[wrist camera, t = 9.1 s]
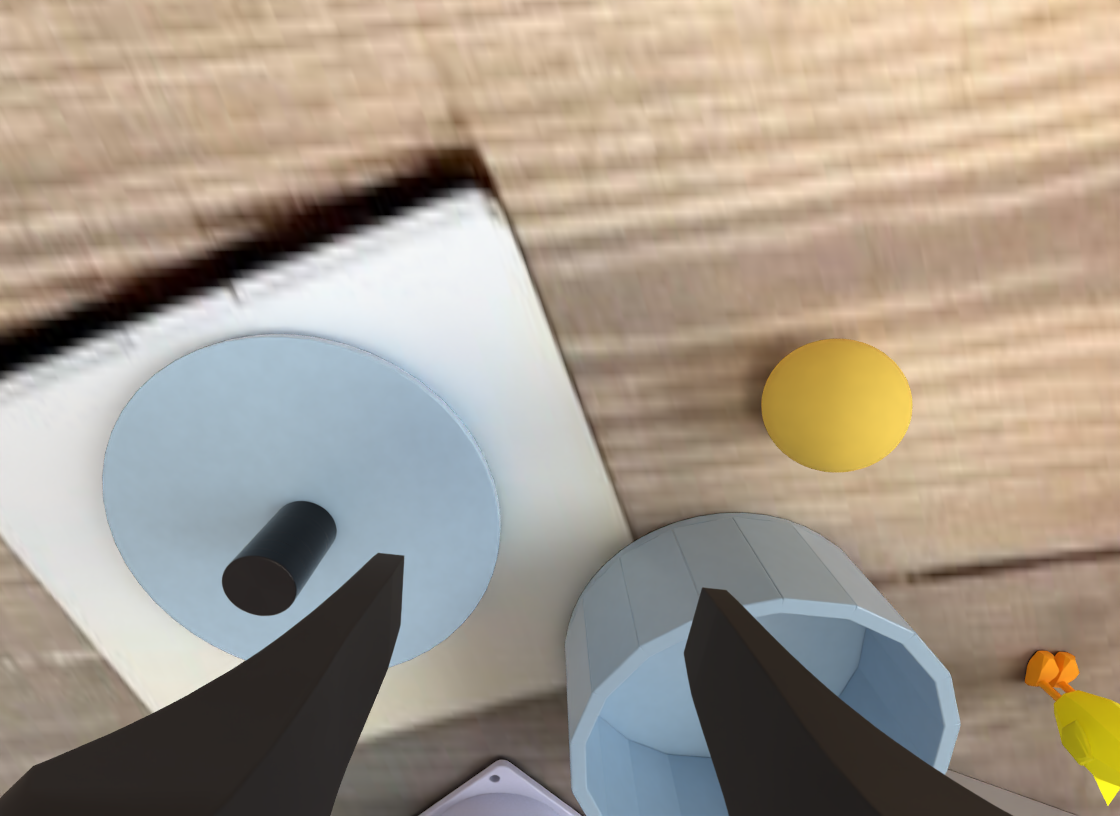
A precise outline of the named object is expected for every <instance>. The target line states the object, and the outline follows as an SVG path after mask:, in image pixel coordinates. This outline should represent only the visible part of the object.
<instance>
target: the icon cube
mask: <svg viewBox="0 0 1120 816" xmlns="http://www.w3.org/2000/svg"><path fill="white" fill-rule="evenodd" d="M945 775H946V776H947V777H949V778H951V779H952V780H954V781H955V782H957V783H959V784H960V785H962V786H964V787H965V788H967V789H968V790H970V791H972V792H973V793H975V794H977V795H978V796H980V797H982V798H983V799H985V800H986V801H988V802H990V803H992V804H993V805H995V806H997V807H998V808H1000V809H1002V810H1004V811H1006V812H1008V813H1009V814H1011V815H1013V816H1077V815H1074V814H1071V813H1068V812H1065V811H1063V810H1060V809H1057V808H1054V807H1051V806H1049V805H1046V804H1043V803H1040V802H1037V801H1035V800H1032V799H1029V798H1026V797H1023V796H1021V795H1018V794H1015V793H1012V792H1009V791H1007V790H1004V789H1001V788H998V787H995V786H993V785H990V784H987V783H984V782H981V781H979V780H976V779H973V778H970V777H967V776H965V775H962V774H959V773H956V772H953V771H951V770H947V772H946V773H945Z"/></svg>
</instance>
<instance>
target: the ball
mask: <svg viewBox="0 0 1120 816" xmlns="http://www.w3.org/2000/svg"><path fill="white" fill-rule="evenodd" d="M761 409H762V417H763V421H764V425H765V427H766V430H767V432H768V434H769V436H770V438H771V439H772V440H773V442H774V443H775V444H776V446H777V447H778V448H779V449H780V450H781V451H782V452H783V453H784V454H786V455H787V456H788V457H789V458H791V459H792V460H794V461H796V462H797V463H799V464H801V465H803V466H806V467H809V468H811V469H815V470H820V471H824V472H849V471H854V470H858V469H862V468H865V467H868V466H870V465H872V464H874V463H876V462H878V461H880V460H881V459H883V458H884V457H886V456H887V455H888V454H889V453H890V452H891V451H892V450H893V449H895V447H896V446H897V445H898V444H899V443H900V441H901V440H902V438H903V437H904V435H905V433H906V431H907V429H908V426H909V424H910V420H911V416H912V395H911V391H910V387H909V385H908V382H907V379H906V377H905V376H904V374H903V372H902V371H901V369H900V368H899V367H898V366H897V364H896V363H895V362H894V361H893V360H892V359H890V358H889V357H888V356H887V355H886V354H885V353H883V352H881V351H880V350H878V349H876V348H875V347H873V346H870V345H868V344H865V343H862V342H858V341H854V340H849V339H825V340H819V341H815V342H812V343H809V344H806V345H804V346H801V347H799V348H798V349H796V350H794V351H793V352H791V353H790V354H788V355H787V356H786V357H785V358H783V359H782V360H781V361H780V362H779V363H778V364H777V366H776V367H775V368H774V369H773V371H772V372H771V374H770V376H769V377H768V379H767V382H766V384H765V387H764V390H763V394H762V401H761Z"/></svg>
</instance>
